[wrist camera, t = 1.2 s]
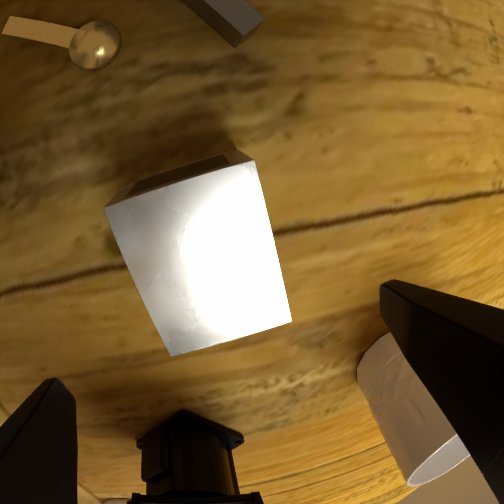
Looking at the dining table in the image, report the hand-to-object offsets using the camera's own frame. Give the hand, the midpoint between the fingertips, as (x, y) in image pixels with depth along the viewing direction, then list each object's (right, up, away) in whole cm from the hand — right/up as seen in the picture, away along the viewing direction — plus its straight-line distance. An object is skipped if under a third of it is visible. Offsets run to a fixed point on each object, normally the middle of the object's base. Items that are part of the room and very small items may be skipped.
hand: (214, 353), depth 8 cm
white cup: (+12, -6, +15) cm, 20 cm away
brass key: (-9, +13, +3) cm, 16 cm away
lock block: (-2, +4, +8) cm, 9 cm away
